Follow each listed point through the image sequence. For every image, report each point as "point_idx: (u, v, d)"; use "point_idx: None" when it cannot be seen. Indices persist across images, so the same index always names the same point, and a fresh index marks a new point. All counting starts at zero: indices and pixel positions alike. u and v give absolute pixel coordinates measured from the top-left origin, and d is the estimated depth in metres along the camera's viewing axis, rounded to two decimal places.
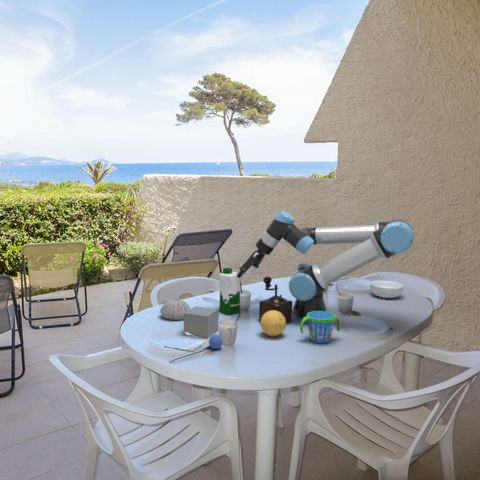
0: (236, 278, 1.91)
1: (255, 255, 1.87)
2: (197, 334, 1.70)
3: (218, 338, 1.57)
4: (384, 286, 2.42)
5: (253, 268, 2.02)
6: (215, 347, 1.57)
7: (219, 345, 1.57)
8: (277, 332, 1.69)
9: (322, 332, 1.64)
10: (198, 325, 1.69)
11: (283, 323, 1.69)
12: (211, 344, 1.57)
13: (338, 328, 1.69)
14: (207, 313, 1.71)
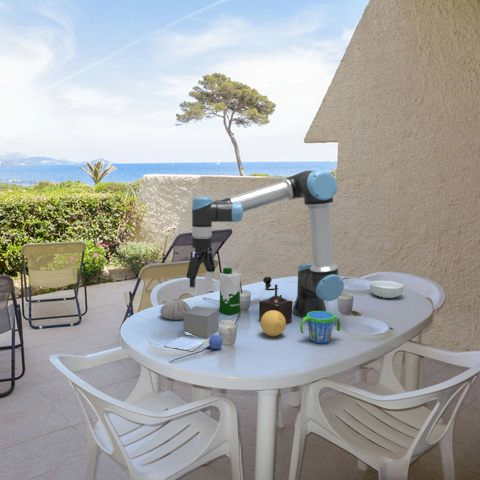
0: (192, 289, 1.66)
1: (194, 254, 1.65)
2: (197, 334, 1.70)
3: (218, 338, 1.57)
4: (384, 286, 2.42)
5: (210, 273, 1.78)
6: (215, 347, 1.57)
7: (219, 345, 1.57)
8: (277, 332, 1.69)
9: (322, 332, 1.64)
10: (198, 325, 1.69)
11: (283, 323, 1.69)
12: (211, 344, 1.57)
13: (338, 328, 1.69)
14: (207, 313, 1.71)
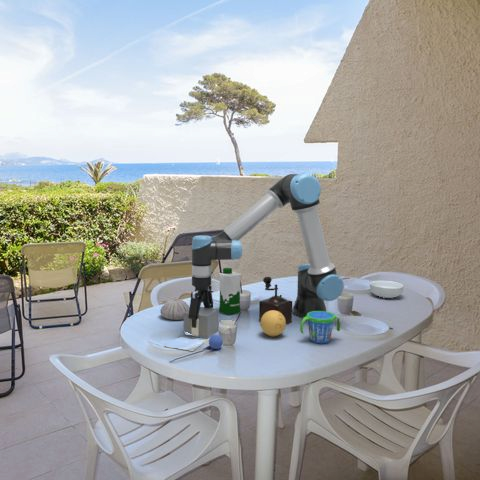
0: (193, 329, 1.69)
1: (194, 295, 1.67)
2: None
3: (218, 338, 1.57)
4: (384, 286, 2.42)
5: None
6: (215, 347, 1.57)
7: (219, 345, 1.57)
8: (277, 332, 1.69)
9: (322, 332, 1.64)
10: None
11: (283, 323, 1.69)
12: (211, 344, 1.57)
13: (338, 328, 1.69)
14: (207, 313, 1.71)
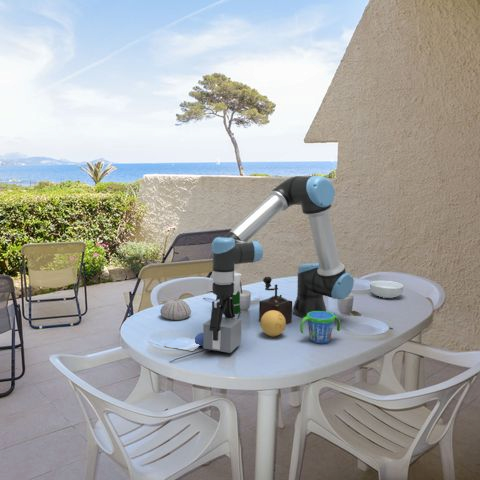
0: (215, 343, 1.52)
1: (216, 304, 1.49)
2: None
3: (195, 339, 1.60)
4: (384, 286, 2.42)
5: None
6: (201, 338, 1.58)
7: (199, 335, 1.59)
8: (277, 332, 1.69)
9: (322, 332, 1.64)
10: None
11: (283, 323, 1.69)
12: (200, 343, 1.58)
13: (338, 328, 1.69)
14: (230, 324, 1.53)
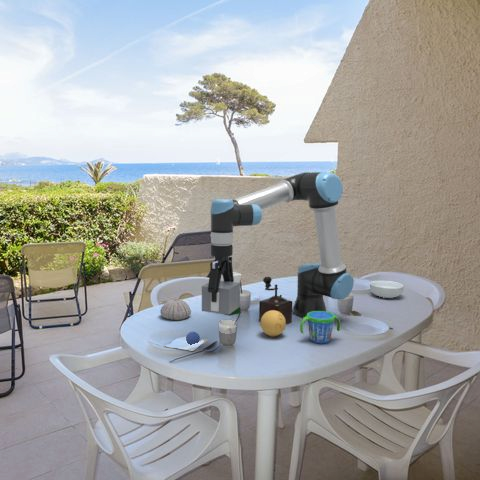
0: (213, 304, 1.51)
1: (214, 265, 1.48)
2: None
3: None
4: (384, 286, 2.42)
5: None
6: (187, 337, 1.60)
7: (186, 339, 1.61)
8: (277, 332, 1.69)
9: (322, 332, 1.64)
10: None
11: (283, 323, 1.69)
12: (191, 339, 1.59)
13: (338, 328, 1.69)
14: (228, 286, 1.52)
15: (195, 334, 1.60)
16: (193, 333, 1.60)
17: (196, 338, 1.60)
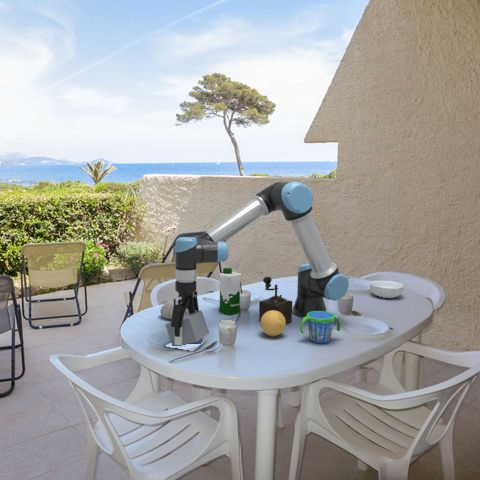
0: (177, 338, 1.57)
1: (177, 301, 1.54)
2: (185, 341, 1.57)
3: None
4: (384, 286, 2.42)
5: None
6: None
7: None
8: (277, 332, 1.69)
9: (322, 332, 1.64)
10: (183, 331, 1.57)
11: (283, 323, 1.69)
12: None
13: (338, 328, 1.69)
14: (189, 316, 1.59)
15: None
16: None
17: (199, 342, 1.59)
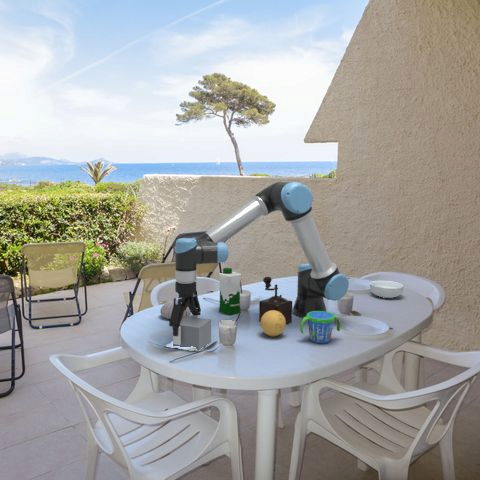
0: (175, 338, 1.56)
1: (177, 301, 1.54)
2: None
3: None
4: (384, 286, 2.42)
5: None
6: None
7: None
8: (277, 332, 1.69)
9: (322, 332, 1.64)
10: (189, 337, 1.56)
11: (283, 323, 1.69)
12: None
13: (338, 328, 1.69)
14: (199, 324, 1.58)
15: None
16: None
17: None
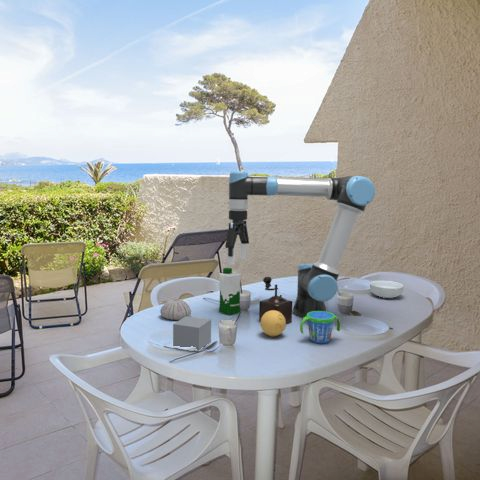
0: (230, 259, 1.75)
1: (232, 225, 1.74)
2: None
3: None
4: (384, 286, 2.42)
5: (244, 245, 1.87)
6: None
7: None
8: (277, 332, 1.69)
9: (322, 332, 1.64)
10: (189, 337, 1.56)
11: (283, 323, 1.69)
12: None
13: (338, 328, 1.69)
14: (199, 324, 1.58)
15: None
16: None
17: None
